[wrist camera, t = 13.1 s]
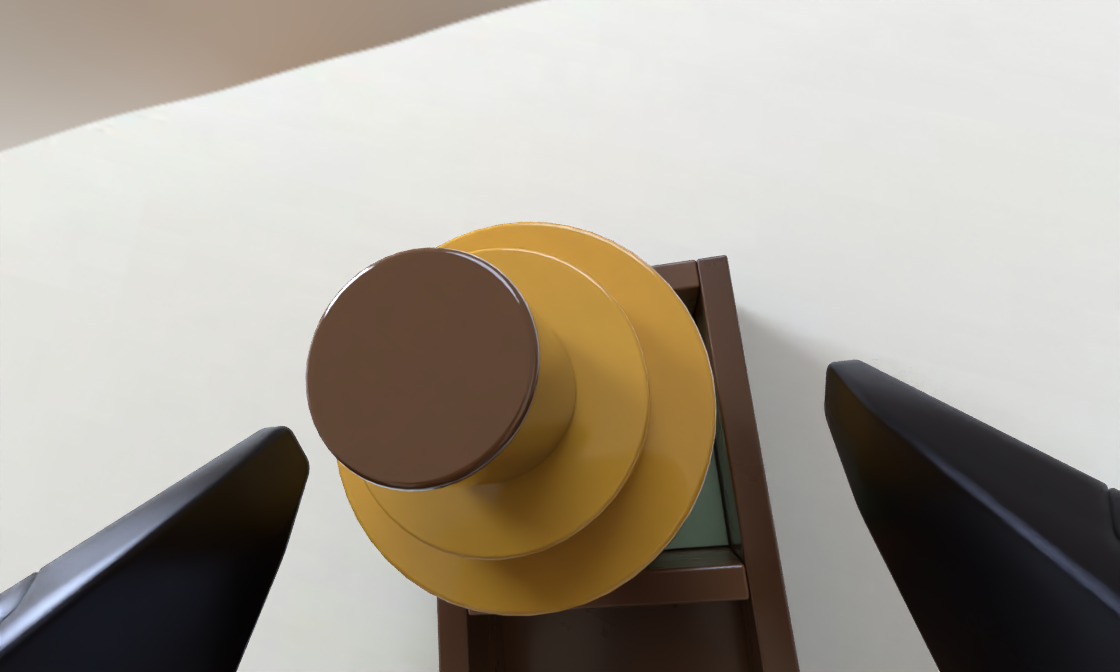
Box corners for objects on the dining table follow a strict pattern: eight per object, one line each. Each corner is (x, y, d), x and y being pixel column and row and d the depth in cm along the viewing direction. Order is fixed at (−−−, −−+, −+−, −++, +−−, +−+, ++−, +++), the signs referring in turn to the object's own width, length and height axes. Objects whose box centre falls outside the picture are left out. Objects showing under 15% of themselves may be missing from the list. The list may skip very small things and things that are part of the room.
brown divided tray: (496, 882, 15) (449, 1002, 12) (467, 328, 19) (425, 298, 16) (813, 888, 14) (862, 1024, 11) (714, 294, 18) (727, 253, 15)
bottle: (711, 393, 17) (860, 173, 4) (644, 560, 16) (582, 904, 3) (555, 331, 18) (310, 21, 5) (487, 482, 17) (26, 525, 5)
